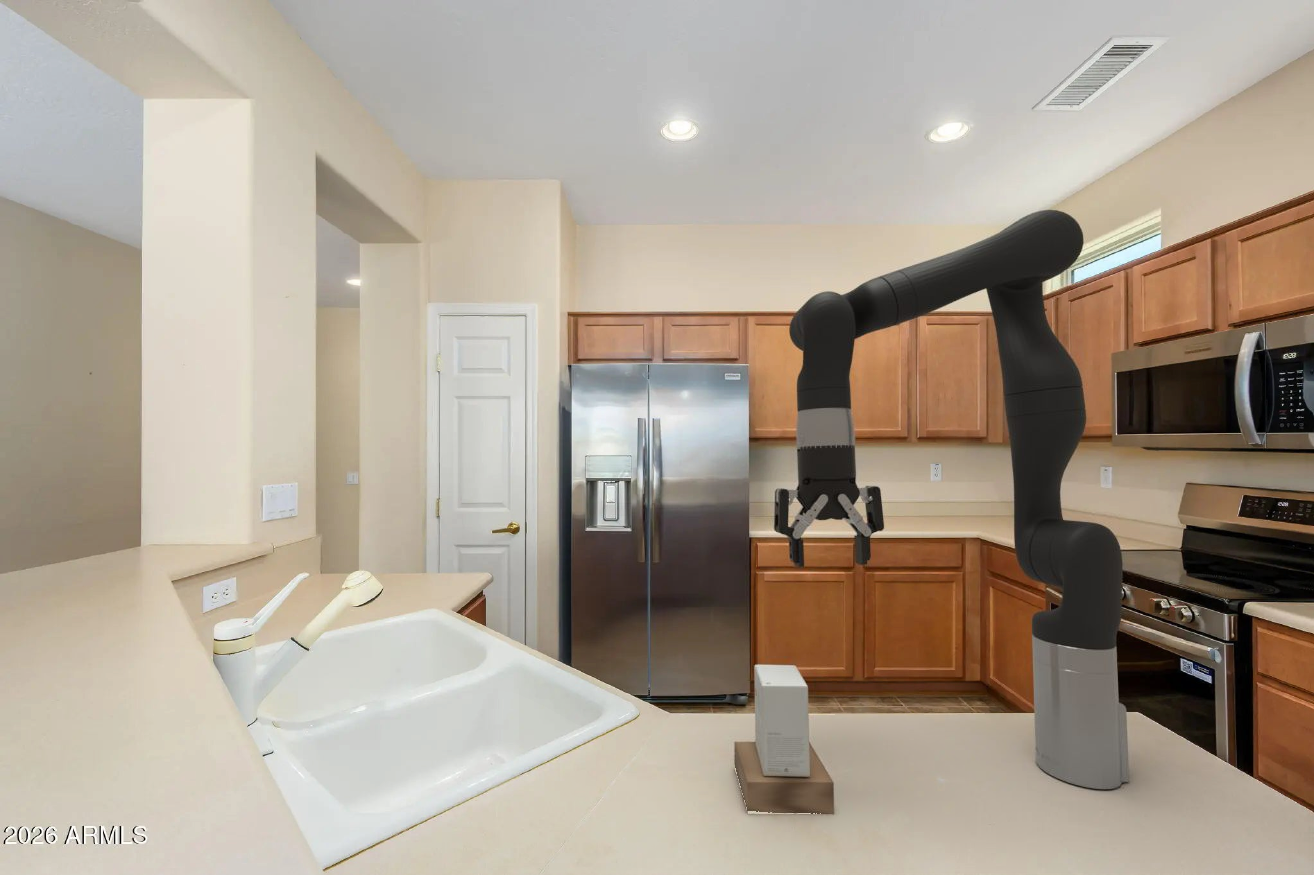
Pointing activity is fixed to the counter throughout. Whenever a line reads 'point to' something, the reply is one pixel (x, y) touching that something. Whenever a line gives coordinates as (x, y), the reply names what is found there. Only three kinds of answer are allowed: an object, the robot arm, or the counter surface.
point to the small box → (781, 721)
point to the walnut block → (782, 785)
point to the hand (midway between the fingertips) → (830, 565)
